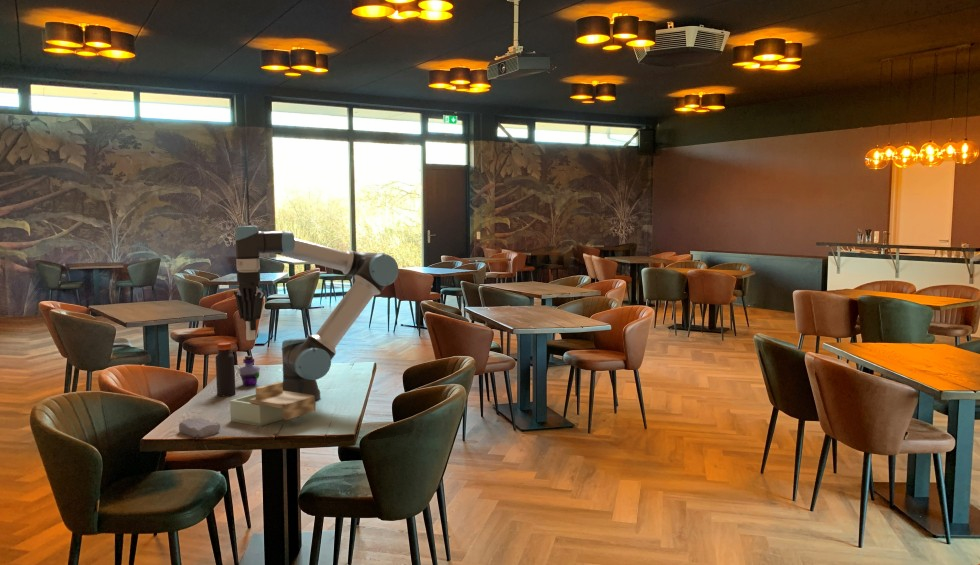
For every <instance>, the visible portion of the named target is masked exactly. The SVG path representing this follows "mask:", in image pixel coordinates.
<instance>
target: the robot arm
mask: <svg viewBox="0 0 980 565" xmlns="http://www.w3.org/2000/svg"><path fill="white" fill-rule="evenodd" d="M234 233H235V234H234V235H235V238H234V241H235V255H236V256H235V258H236V259H235V260H236V270H237V273H236V281H237V282H236V283H238V289H237V290H234V291H233V295H234V297H235V300H236V301H235V302H236V304H237V309H238V315H239V319H240V320H241V319H242V320H243V321H244V330H245V337H246V341H254V340H256V330H257V320H260V319H261V316H262V310H263V309H262V308H263V303H264V302H263V300H264V297H265V295H266V292H265V291H262V290H260V286H259V283H260V282H261V272H260V271H259V270H261V266H260V265H261V264H260V254H274V255H278V256H283V257H286V258H290V259H294V260H297V261H301V262H307V263H309V264H314V265H318V266H321V267H324V268H329V269H333V270H337V271H341V272H342V273H343V275H347V276H349V277H352V278H354V282H353V284H352V285H351V287H350V288H349V289H348V290H347V291H346V292H345V293H346V294H345V295H344V296H343V297H342V298H341V300H340V301H339V302H338V304H337V305H336V306H335V308H334V309H333V310H332V312H331V313H330V314H329V315H328V317H327V318H326V320H324V322H323V324H322V325H321V326H320V327H319V329H318V330H317V332H315V333H314V334H309V335H308V336H307V337H303V338H302V337H301V338H292V339H285V340H283V341H282V342H281V343H282V345H281V352H282V353H281V354H282V355H281V356H282V382H283V391H289V392H296V393H302V394H309V395H313V396H315V402H316V401H318V400H320V399H321V390H320V388H319V386H318V383H317V380H319V379H321V378H323V377H325V376H326V375H327V374H328V372H330V369H331V365H332V360H333V358H334V357H335V355H336V354H337V353H336V352H337V351H336V348H337V345H339V343H340V342H341V340H342V339H343V338H344V337H345V335H346V334H347V333H348V331H349V330H350V328H351V327H352V325H353V324H354V323H355V321H357V319H358V318H359V316H360V315H361V313H362V312H363V311H364V309H365V308H366V306H368V304H369V303H370V302H371V300H372V299H373V297H374V296H378V295H381V294H382V292H383V291H384V289H385V288H386V287H387V286H390V285H392V284H393V283H395V281H396V280H397V279H398V277H399V265H398V262H397V260H395V258H394V257H393V256H392V255H389V254H388V253H384V252H379V253H378V252H363V251H362V252H361V251H356V250H355V251H354V250H351V249H350V250H347V251H346V250H341V249H338V248H334V247H330V246H327V245H322V244H319V243H315V242H313V241H307V240H303V239H299V238H296V237H295V234H294V233H293V232H292V231H291V230H288V231H287V230H279V231H278V230H271V231H270V230H262V231H260V230H259V226H258V225H239V226H236V228H235V232H234Z"/></svg>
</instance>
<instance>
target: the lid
mask: <svg viewBox="0 0 980 565" xmlns="http://www.w3.org/2000/svg"><path fill="white" fill-rule="evenodd" d="M255 394H256V397H255V398H252V399H249V403H253V404H259V405H265V406H271V407H277V408H283V412H284V419H283V420H285V421H288V420H291V419H294V418H297V417H300V416H303V415H306V414H310V413H312V412H316V401H315V396H313V395H309V394H302V393H296V392H289V391H283V381H282V382H281V381H276V382H273V383H269V384H265V385H261V386H258V387H255Z"/></svg>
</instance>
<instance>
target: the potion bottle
mask: <svg viewBox="0 0 980 565" xmlns="http://www.w3.org/2000/svg"><path fill="white" fill-rule="evenodd" d="M242 361H243V362H242V363H243V364H244V366H243V367H240V368H238V372H239V377H241V382H242V386H243V387H254V386H256V385H258V384H257V383H258V379H259V377H260V369H261V367H260V366H257V365H253V364H254V363H255V359H254V358H253V355H246V356H244V359H243V360H242Z"/></svg>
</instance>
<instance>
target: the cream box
mask: <svg viewBox="0 0 980 565" xmlns="http://www.w3.org/2000/svg"><path fill="white" fill-rule="evenodd" d="M255 397H256V393H252V394H249V395H245V396H241V397H238V398H235V399H230V400H229V405H230V406H229V407H230V421H231V422H234V423H235V422H236V423H241V424H244V425H250V426H256V427H263V426H266V425H269V424H272V423H275V422H278V421H282V420H284V412H283V408H277V407H271V406H265V405H259V404H253V403H249V399H252V398H255Z"/></svg>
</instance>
